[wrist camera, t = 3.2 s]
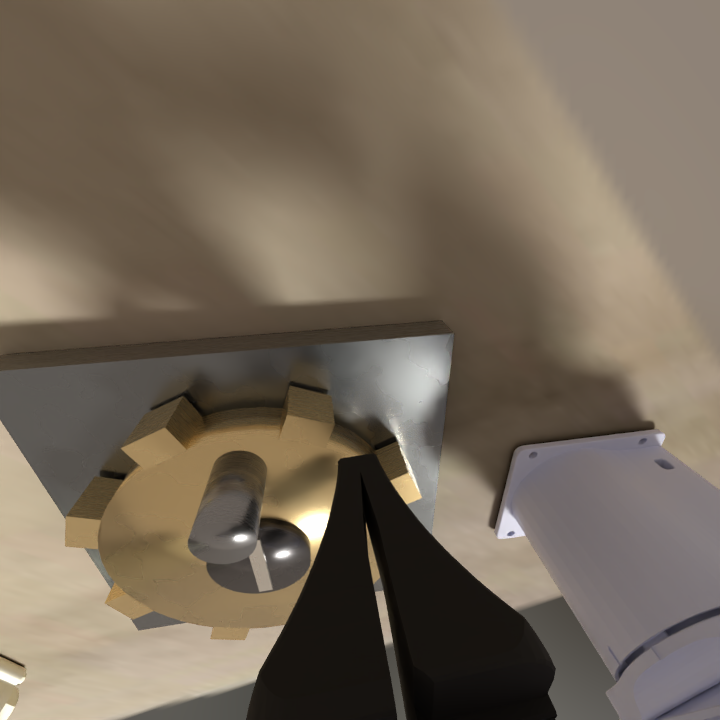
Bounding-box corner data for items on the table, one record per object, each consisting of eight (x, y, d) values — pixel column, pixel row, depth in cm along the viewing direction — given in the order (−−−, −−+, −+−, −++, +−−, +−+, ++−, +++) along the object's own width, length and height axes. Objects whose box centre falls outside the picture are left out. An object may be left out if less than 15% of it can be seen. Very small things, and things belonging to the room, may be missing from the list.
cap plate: (441, 320, 15) (454, 333, 14) (419, 560, 24) (426, 583, 22) (3, 354, 13) (-31, 373, 12) (148, 603, 22) (138, 630, 20)
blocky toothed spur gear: (403, 575, 21) (428, 677, 17) (157, 615, 20) (114, 739, 15) (415, 373, 14) (462, 457, 10) (37, 409, 13) (-104, 527, 8)
